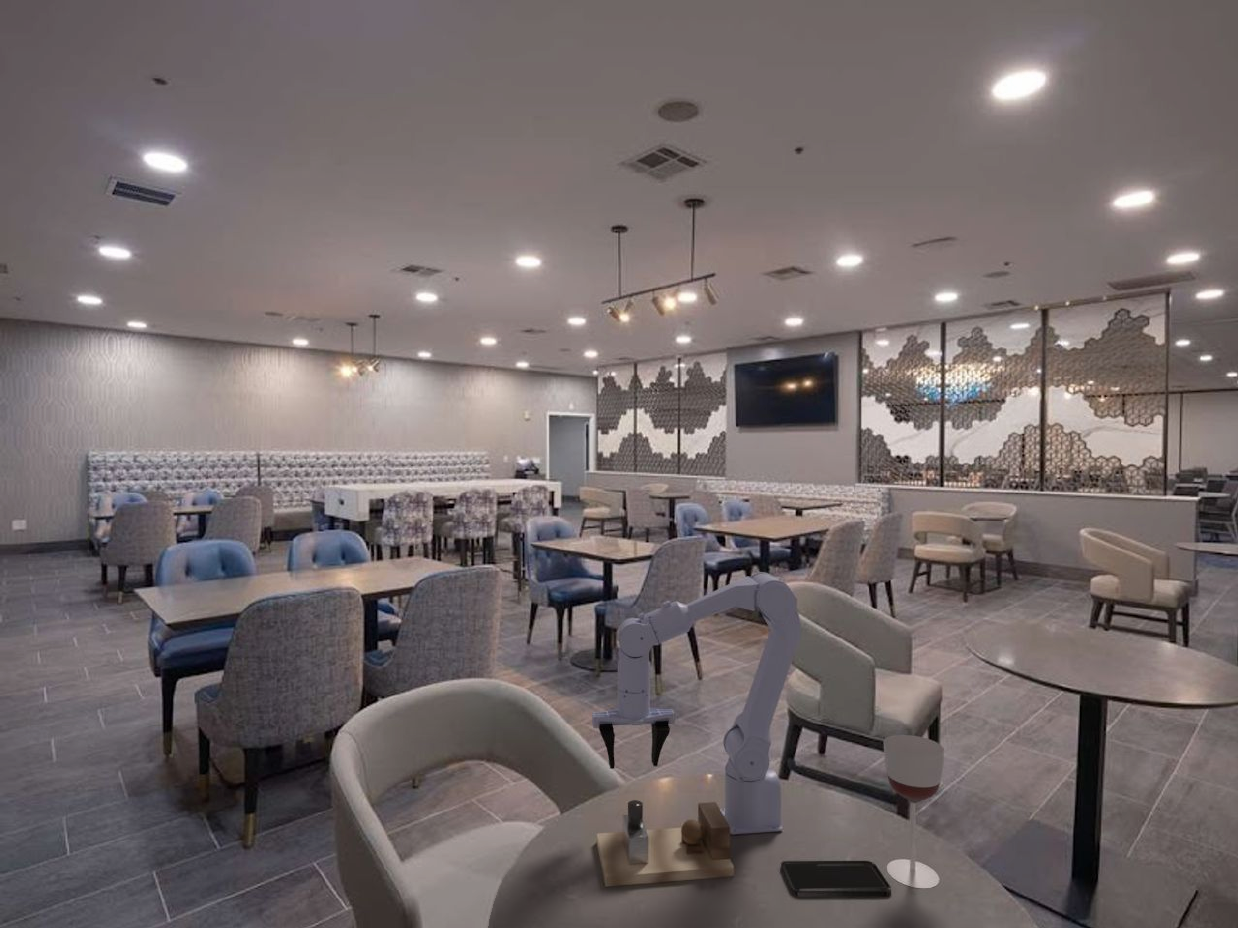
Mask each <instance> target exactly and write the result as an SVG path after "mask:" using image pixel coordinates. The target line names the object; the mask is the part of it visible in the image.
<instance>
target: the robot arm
mask: <svg viewBox="0 0 1238 928" xmlns="http://www.w3.org/2000/svg"><path fill="white" fill-rule="evenodd" d="M732 608H739V609H740V608H741V609H745V610H749V611H755V608H756V609H758V611H759V613H761V614H762V615H761V616H762V617H763V618H764V620H765V622H766V624H767V626H768V628H769V633H768V635H767V636H768V637H767V639H766V642H765V645H764V648H763V651H762V654H761V657H760V660H759V662H758V665H757V668H756V672H755V675H754V677H753V680H752V683H751V687H750V690H749V692H748V695H747V698H746V701H745V704H744V707H743V710H742V711H741V713H740V714H738V715H737V716H736V717H735V721H734V723H733V725H732V726H731V727H730V728H729V729H728V730H727V731H726V733H725V734H724V736H723V741H722V742H723V748H724V751H725V752H726V754H727V756H728V760H727V763H726V764H725V767H724V770H725V771H724V775H725V776H724V777H725V778H724V808H719V809H720V811H721V812H722V814H723V816H724V817H725V819H726V821H727V823H728V824H729V826H730V835H743V834H744V835H745V834H757V833H758V834H759V833H770V832H781V831H783V826H782V789H781V783H780V778H779V776H778V774H777V773H776V771H775V770H773V769H769V768H770V756H769V751H770V748H771V744H772V739H771V738H772V737H771V735H772V734H771V733H772V732H771V726H772V725H771V724H772V722H773V719H774V716H775V712H776V710H777V707H778V705H779V700H780V698H781V695H782V691H783V689H784V686H785V683H786V680H787V677H788V674H789V670H790V668H791V666H792V662H793V660H794V656H795V653H796V650H797V648H798V644H799V641H800V638H801V636H802V623H801V619H800V615H799V614H800V613H799V610H798V598H797V597H796V595H795V594H794V592H793V591H792V589H791V588H790V587H789V585H788V584H787V583H786V582H784V581H782V580H780V579H778V578H775V576H773V575H772V574H770V573H769V572H765V571H764V572H763V571H759V572H756V573H753V574H752V575H751V576H748V575H747V576H744V577H741V578H739V579H737V580H735V581H733V582H731V583H729V584H727V585H725V586H724V585H723V586H722V587H720V588H718V589H716V590H714V591H712V592H710V593H707V594H706V595H702V596H701V597H699V598H697V599H695V600H692V601H691V602H689V603H687V604H685V603H681V602H679V601H676V600H675V601H673V602H671V601H670V600H666V601H664V602H663V603H662V606H661V607H659V608H657V609H655V610H654V609H653V610H651V611H649V612H647V613H644V612H641V613H638V614H637V616H638V617H636V618H635V617H629V618H627V619H624V620H623V621H622V622H621V624H619V626H618V628H617V632H616V638H617V641H618V646H619V650H618V661H617V708H616V709H611V710H606V711H600V712H599V711H598V712H592V716H591V717H592V718H591V719H592V723H591V724H592V727H593V728H594V729H595V728H598V730H599V733H600V736H601V738H602V741H603V742H604V745H605V748H606V752H607V757H608V765H609V769H610V770H612V769H613V770H614V769H616V768H615V765H616V762H615V739H616V738H615V736H616V733H615V731H614V726H624V725H625V726H628V725H630V726H642V725H648V724H650V726H651V727H650V728H651V752H650V753H651V754H650V755H651V757H650V758H651V760H650V761H651V763H652V766H653V767H658V766H659V765H658V764H659V760H660V756H661V752H662V749H663V746H664V744H665V742H666V739H667V738H668V736H669V735H670V731H671V728H670V725H674V724H675V723H676V722H675V721H676V717H675V716H676V714H675V712H674V709H668V708H667V709H666V708H665V709H664V708H663V709H662V708H652V707H651V699H650V698H651V697H650V696H651V695H650V694H651V661H650V651H651V650H652V647H653V646H659V645H660V644H662V643H665V642H667V641H670V640H672V639H675V638H676V637H677V638H678V637H680V636H682V635H684V634H686V633H689V632H690V630H691V627H692V625H694V622H697V621H699V620H703V619H706V618H708V617H711V616H714V615H715V614H719V613H721V612H724V611H728V610H730V609H732ZM650 707H651V708H650Z"/></svg>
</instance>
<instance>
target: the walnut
mask: <svg viewBox="0 0 1238 928" xmlns="http://www.w3.org/2000/svg"><path fill="white" fill-rule="evenodd" d="M680 828H681V835H682V838H683V840H684V841H685V842H686V843H688V844H690V845H695V844H698V843H699V842H700V841H701V840H702V838H703V828H702V826H701V824H700V823H699V822H698V820H695V819H688V820H685V821H684V822H683V824H682V826H681V827H680Z"/></svg>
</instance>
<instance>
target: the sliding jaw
mask: <svg viewBox="0 0 1238 928" xmlns="http://www.w3.org/2000/svg"><path fill="white" fill-rule="evenodd" d="M643 805H644V803H643V802H642V801H641V800H638V799H633V800H630V801H628V802H627V814H623V815H622V832H623V843H624V847H625V850H626V854H627V858H628V861H629V864H640V863H648V838H649V837H648V834H647V831H646V830H647V829H646V826H645V823H644V821H643V820H644V819H643V817H644V814H643V813H644V806H643Z"/></svg>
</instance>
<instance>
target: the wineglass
mask: <svg viewBox="0 0 1238 928" xmlns="http://www.w3.org/2000/svg"><path fill="white" fill-rule="evenodd" d="M944 749H945V748H944V747H943V745H942V744H940V743H939V742H937V741H935V740H933V739H929V738H927V737H922V736H917V735H910V734H894V735H890V736H887V737H885V738H884V739H883V754H884V765H885V770H886V775H887V780H888V783H889V785H890V787H891V789H892V790H893V791H894V792H895V793H896V794H898V795H899V796H900V797H902V798H904V799H906V800H908V801H909V802H910V803H909V804H910V806H909V807H910V808H909V811H910V815H909V818H910V824H909V825H910V829H909V830H910V831H909V833H910V834H909V838H910V840H909V843H910V845H909V846H910V847H909V849H910V850H909V855H910V856H909V859H904V858H903V859H894V860H892V861H890V862H889V863H888V864H887V865H886V870H887V873H888V874H889V875H890V877H891V878H892V879H894V880H895V881H897V882H899V883H900V884H903V885H905V886H909V887H911V888H915V889H916V888H917V889H931V888H933V887H936V886H937V885H938V884H939V883H940V877H939V874H938V873H937V872H936V871H935V870H934V869H932V867H929V865H926V864H924V863H923V862H920V861H916V846H917V845H916V840H917V838H916V835H917V834H916V829H917V827H916V824H917V823H916V819H917V816H916V810H917V807H916V806H917V805H916V804H917V802H921V801H925V800H928V799H930V798H932V797H934V795H936V793H937V792H938V790H939V787H940V784H941V779H942V775H943V769H944V756H945V753H944V752H945V751H944Z"/></svg>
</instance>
